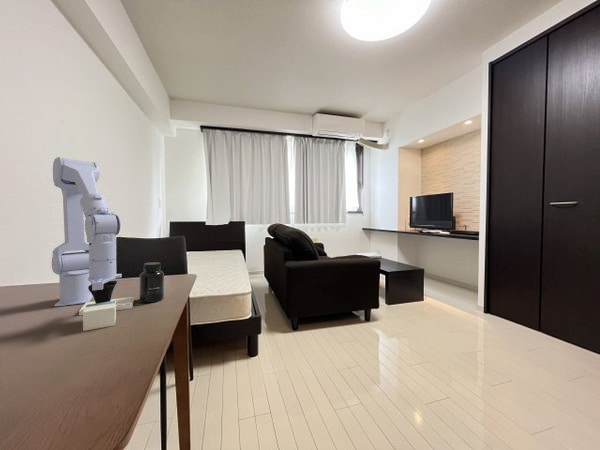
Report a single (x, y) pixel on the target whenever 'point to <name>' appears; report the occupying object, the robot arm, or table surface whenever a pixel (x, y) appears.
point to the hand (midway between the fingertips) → (103, 310)
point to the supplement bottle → (151, 283)
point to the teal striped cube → (99, 315)
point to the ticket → (120, 304)
